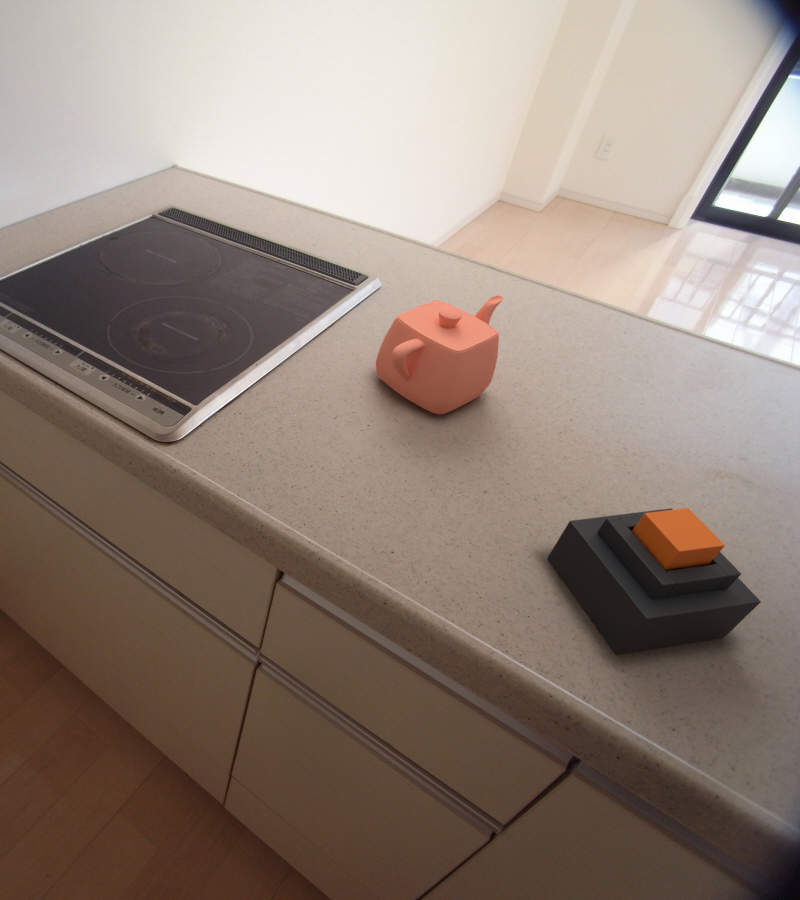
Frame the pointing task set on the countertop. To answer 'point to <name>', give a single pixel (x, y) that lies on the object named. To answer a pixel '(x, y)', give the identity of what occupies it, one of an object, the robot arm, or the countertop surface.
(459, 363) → the teapot
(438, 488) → the countertop surface
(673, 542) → the key
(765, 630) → the countertop surface
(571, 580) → the push button box
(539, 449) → the countertop surface
